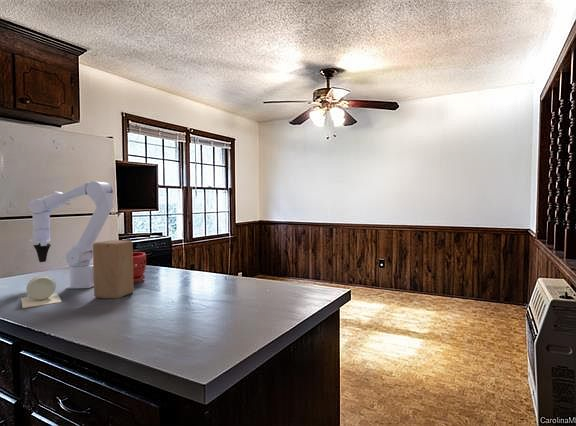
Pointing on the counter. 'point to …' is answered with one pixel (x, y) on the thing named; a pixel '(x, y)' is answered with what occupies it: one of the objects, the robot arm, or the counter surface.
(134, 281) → the plant pot
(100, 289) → the wooden block
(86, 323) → the counter surface
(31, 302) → the mat
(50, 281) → the coffee cup
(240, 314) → the counter surface
